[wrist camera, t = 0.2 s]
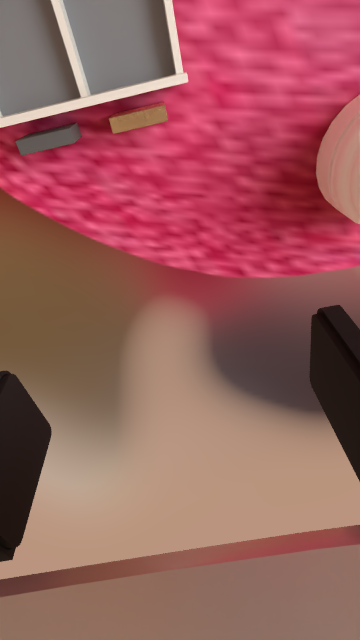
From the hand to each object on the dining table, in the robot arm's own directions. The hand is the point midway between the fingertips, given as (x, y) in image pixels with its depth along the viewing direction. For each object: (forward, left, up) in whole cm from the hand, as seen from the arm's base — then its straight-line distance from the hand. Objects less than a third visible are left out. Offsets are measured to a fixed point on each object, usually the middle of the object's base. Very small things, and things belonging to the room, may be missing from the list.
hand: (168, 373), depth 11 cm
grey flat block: (-5, -9, -31) cm, 33 cm away
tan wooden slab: (-5, -1, -31) cm, 31 cm away
